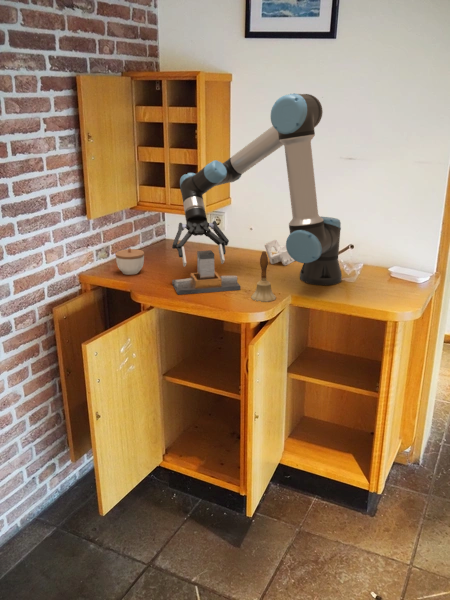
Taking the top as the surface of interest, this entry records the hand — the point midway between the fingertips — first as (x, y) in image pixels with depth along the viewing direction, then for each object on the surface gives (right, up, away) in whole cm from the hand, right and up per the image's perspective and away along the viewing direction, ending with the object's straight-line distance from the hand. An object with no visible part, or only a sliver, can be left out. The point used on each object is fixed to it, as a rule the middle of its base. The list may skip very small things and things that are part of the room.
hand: (204, 263), depth 196 cm
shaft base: (+1, -8, +2) cm, 8 cm away
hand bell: (+20, -12, -8) cm, 25 cm away
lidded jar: (-29, -2, +18) cm, 34 cm away
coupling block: (+1, -7, +2) cm, 7 cm away
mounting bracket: (+30, +3, +32) cm, 44 cm away
